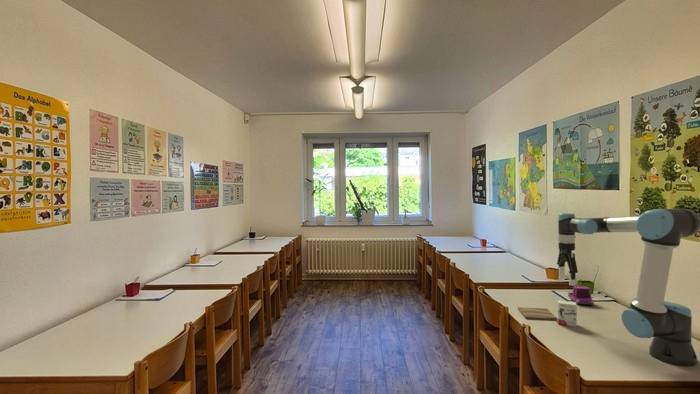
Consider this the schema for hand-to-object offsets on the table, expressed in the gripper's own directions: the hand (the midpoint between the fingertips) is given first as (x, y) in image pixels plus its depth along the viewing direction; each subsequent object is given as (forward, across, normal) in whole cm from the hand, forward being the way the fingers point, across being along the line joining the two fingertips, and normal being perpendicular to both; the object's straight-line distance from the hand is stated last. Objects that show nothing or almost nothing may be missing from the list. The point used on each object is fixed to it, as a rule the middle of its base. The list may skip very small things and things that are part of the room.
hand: (566, 281), depth 189 cm
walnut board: (+23, +13, +11) cm, 28 cm away
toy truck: (+23, +40, -22) cm, 51 cm away
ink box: (+23, 0, 0) cm, 23 cm away
